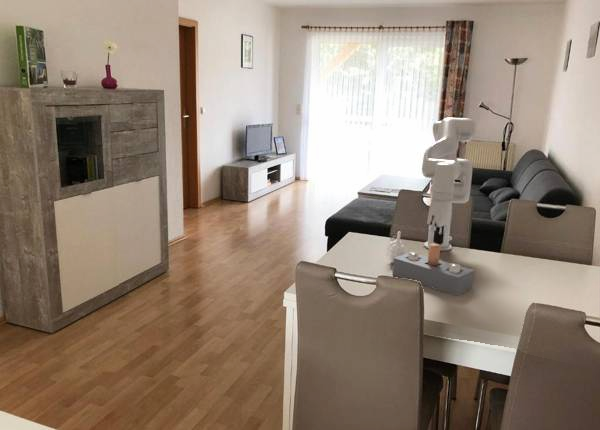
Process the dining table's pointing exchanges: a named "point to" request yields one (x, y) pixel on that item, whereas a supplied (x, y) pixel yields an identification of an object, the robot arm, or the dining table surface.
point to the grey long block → (434, 274)
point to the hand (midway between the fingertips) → (438, 243)
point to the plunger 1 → (413, 256)
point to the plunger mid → (433, 255)
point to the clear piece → (454, 268)
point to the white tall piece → (396, 248)
